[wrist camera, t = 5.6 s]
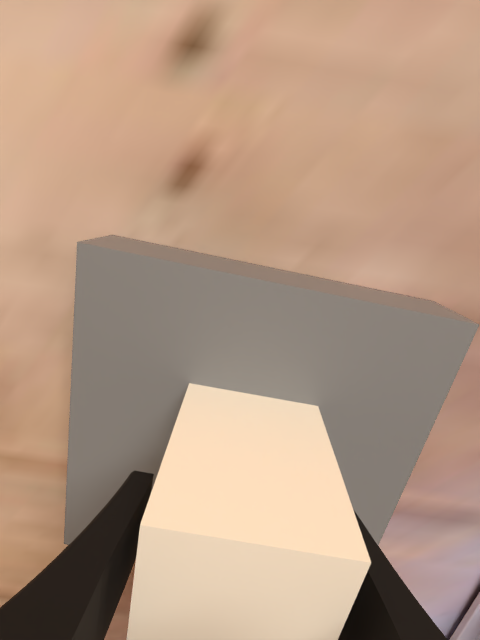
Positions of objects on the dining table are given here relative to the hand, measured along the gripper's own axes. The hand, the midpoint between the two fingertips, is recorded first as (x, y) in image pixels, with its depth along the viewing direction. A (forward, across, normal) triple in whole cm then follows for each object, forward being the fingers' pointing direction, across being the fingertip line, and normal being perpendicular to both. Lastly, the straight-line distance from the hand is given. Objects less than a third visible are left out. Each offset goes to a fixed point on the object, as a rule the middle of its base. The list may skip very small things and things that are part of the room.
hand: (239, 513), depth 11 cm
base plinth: (+6, 0, 0) cm, 6 cm away
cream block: (+3, 0, 0) cm, 3 cm away
